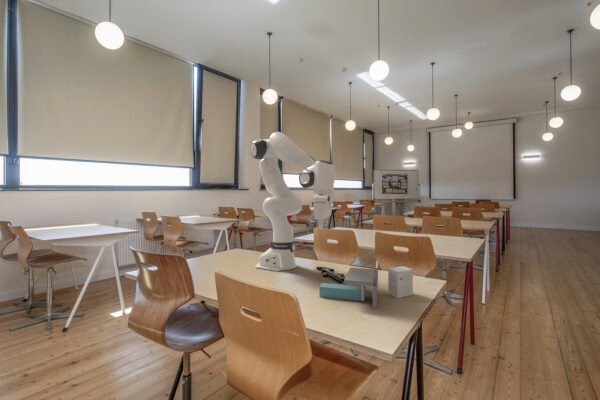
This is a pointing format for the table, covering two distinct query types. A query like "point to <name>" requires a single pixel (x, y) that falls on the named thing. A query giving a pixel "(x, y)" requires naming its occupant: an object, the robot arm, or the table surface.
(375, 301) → the overhang shelf
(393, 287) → the small box
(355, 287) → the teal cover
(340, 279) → the black toy gun
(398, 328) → the table surface
